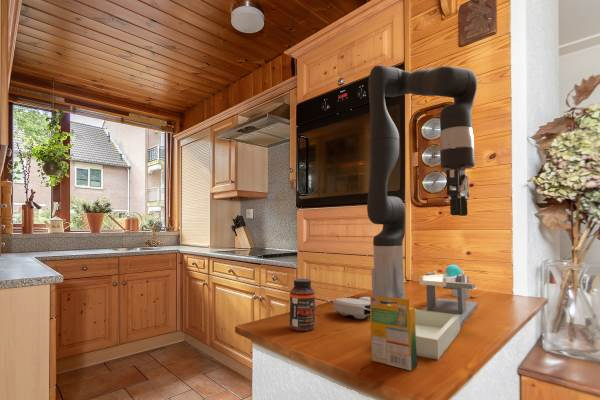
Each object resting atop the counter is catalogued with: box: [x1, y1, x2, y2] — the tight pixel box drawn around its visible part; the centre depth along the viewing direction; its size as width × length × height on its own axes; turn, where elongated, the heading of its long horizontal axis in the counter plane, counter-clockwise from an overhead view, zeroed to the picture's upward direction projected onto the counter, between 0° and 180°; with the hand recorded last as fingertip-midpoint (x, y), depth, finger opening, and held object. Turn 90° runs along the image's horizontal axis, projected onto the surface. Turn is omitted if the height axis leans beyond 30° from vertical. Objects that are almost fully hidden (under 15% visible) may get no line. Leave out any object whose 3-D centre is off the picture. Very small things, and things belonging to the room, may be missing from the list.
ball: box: [445, 264, 462, 277], centre depth 102 cm, size 4×4×4 cm
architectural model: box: [451, 275, 478, 299], centre depth 114 cm, size 3×7×7 cm, turn 44°
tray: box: [415, 308, 461, 360], centre depth 73 cm, size 12×20×4 cm, turn 145°
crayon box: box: [369, 294, 418, 372], centre depth 61 cm, size 7×3×12 cm, turn 52°
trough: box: [419, 269, 476, 290], centre depth 92 cm, size 12×26×6 cm, turn 145°
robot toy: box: [326, 296, 390, 320], centre depth 93 cm, size 12×4×15 cm
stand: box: [421, 271, 478, 328], centre depth 93 cm, size 11×27×10 cm, turn 145°
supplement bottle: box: [289, 278, 316, 332], centre depth 82 cm, size 6×6×11 cm
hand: (459, 215), depth 83 cm, fingers open, 8 cm apart
